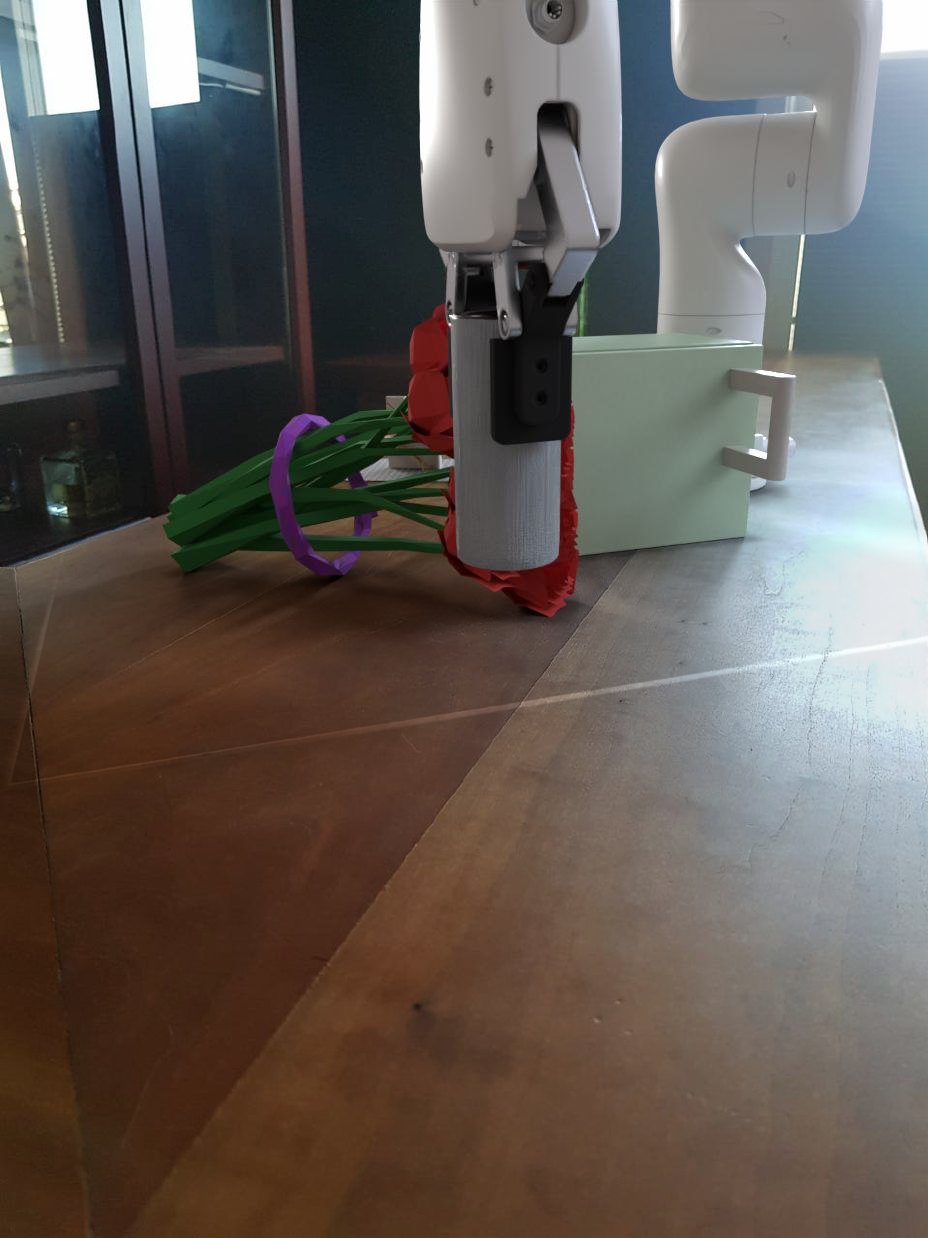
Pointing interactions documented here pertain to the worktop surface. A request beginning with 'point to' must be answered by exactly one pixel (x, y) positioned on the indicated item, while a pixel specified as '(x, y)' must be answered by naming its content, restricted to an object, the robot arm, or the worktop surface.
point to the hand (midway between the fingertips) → (507, 425)
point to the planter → (497, 466)
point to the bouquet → (362, 490)
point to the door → (672, 443)
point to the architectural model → (403, 458)
